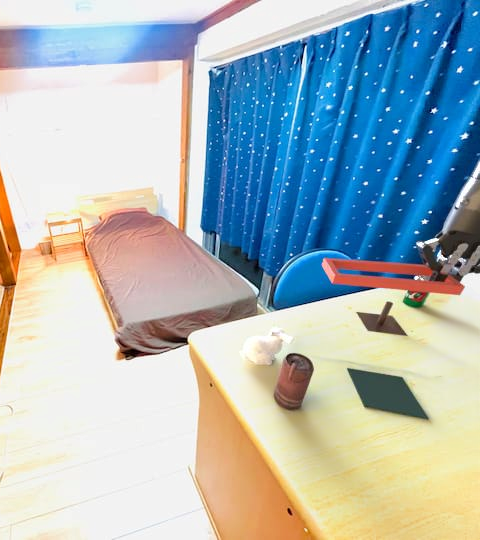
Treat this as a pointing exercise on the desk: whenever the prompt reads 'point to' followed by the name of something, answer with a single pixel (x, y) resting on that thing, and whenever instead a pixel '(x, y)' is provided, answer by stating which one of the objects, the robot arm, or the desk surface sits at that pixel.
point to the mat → (386, 393)
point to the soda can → (416, 295)
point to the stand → (381, 321)
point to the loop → (335, 277)
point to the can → (293, 381)
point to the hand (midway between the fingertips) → (439, 287)
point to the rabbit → (264, 347)
